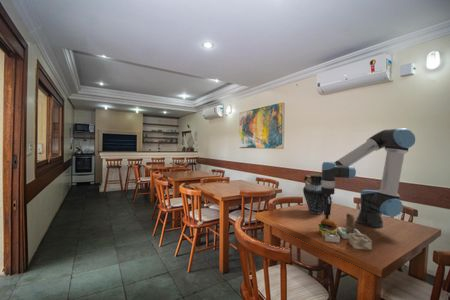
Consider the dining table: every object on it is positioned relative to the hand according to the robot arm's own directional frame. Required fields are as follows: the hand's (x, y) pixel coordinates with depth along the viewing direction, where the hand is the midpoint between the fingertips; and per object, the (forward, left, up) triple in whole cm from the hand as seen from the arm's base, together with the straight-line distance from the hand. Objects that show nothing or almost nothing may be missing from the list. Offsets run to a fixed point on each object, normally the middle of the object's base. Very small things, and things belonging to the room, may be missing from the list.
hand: (326, 224), depth 135 cm
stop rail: (0, +15, -4) cm, 16 cm away
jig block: (-13, +17, -4) cm, 22 cm away
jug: (+1, -37, -4) cm, 37 cm away
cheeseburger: (0, +6, -4) cm, 7 cm away
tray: (-12, +4, -4) cm, 13 cm away
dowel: (-12, +5, -3) cm, 13 cm away
